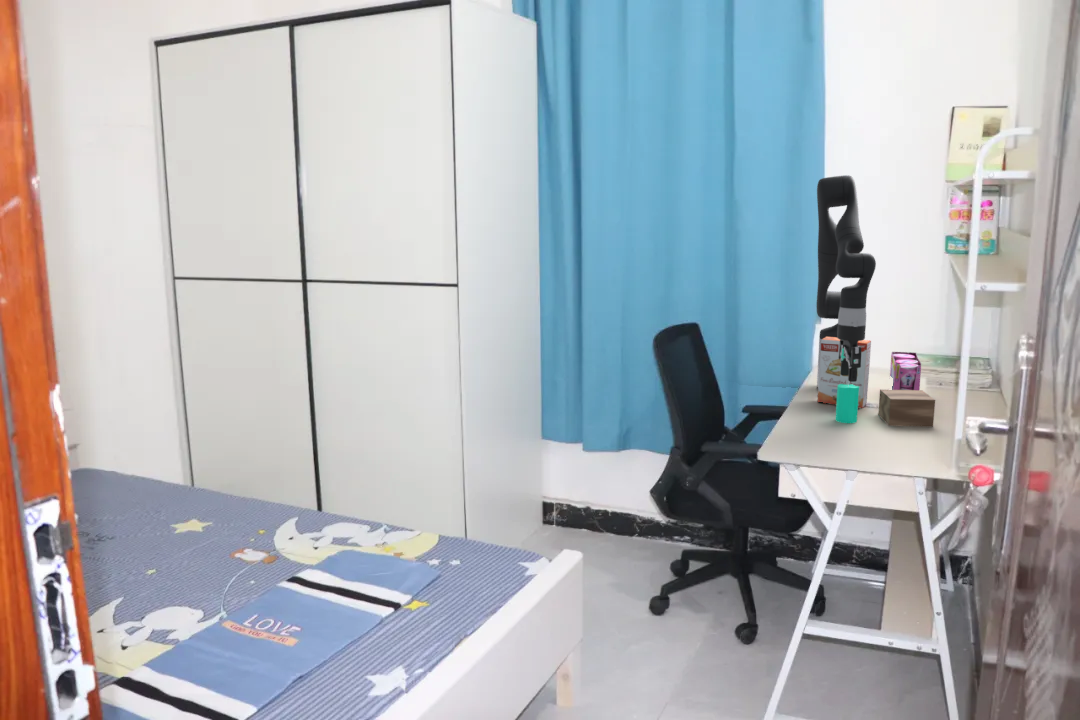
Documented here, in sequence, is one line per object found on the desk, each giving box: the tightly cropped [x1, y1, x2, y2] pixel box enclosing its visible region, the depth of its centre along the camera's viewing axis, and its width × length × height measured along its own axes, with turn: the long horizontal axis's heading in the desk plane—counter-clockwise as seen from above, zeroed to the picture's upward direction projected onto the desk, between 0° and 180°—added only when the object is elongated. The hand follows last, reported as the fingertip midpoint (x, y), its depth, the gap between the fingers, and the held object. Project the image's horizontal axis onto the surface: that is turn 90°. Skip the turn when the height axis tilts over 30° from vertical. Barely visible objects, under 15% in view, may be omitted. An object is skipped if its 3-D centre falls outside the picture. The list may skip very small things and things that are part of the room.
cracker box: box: [817, 337, 872, 409], centre depth 260 cm, size 14×6×21 cm, turn 56°
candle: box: [835, 381, 859, 424], centre depth 241 cm, size 6×6×12 cm
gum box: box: [889, 351, 922, 390], centre depth 266 cm, size 24×8×14 cm, turn 160°
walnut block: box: [877, 389, 936, 428], centre depth 241 cm, size 12×12×8 cm
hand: (848, 378), depth 240 cm, fingers open, 8 cm apart
